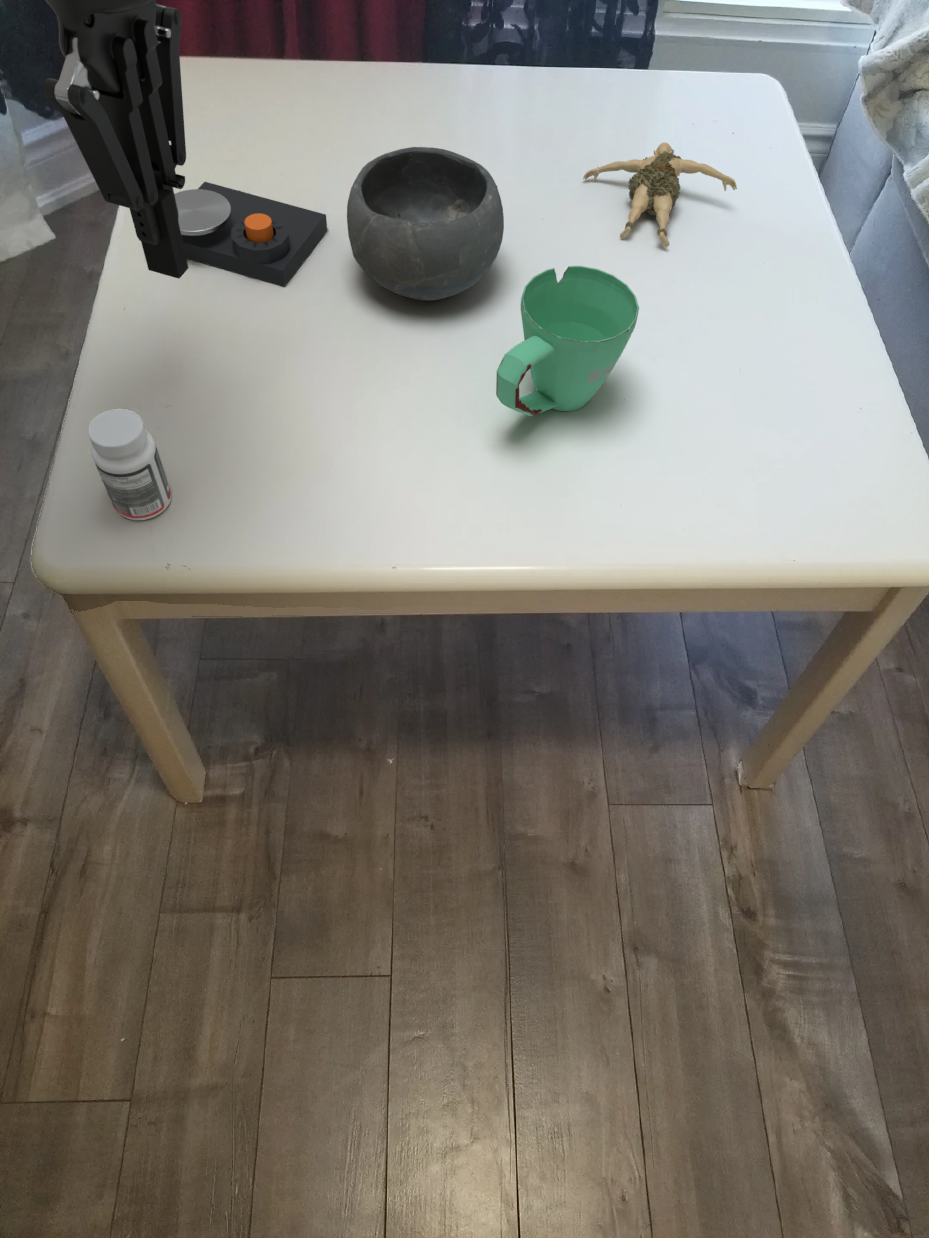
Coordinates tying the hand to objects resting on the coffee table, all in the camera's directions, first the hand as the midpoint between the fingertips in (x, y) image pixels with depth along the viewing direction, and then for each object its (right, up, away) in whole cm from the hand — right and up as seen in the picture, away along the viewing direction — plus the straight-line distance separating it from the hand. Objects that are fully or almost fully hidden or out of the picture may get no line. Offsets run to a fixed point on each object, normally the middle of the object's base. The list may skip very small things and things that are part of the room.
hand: (168, 269), depth 72 cm
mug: (+31, -9, +11) cm, 34 cm away
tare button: (+3, +10, +17) cm, 20 cm away
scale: (+1, +11, +22) cm, 24 cm away
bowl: (+19, +7, +20) cm, 29 cm away
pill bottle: (-3, -18, +3) cm, 19 cm away
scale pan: (-3, +12, +18) cm, 22 cm away
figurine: (+44, +17, +28) cm, 55 cm away
